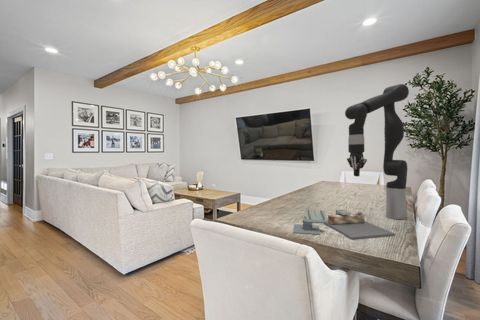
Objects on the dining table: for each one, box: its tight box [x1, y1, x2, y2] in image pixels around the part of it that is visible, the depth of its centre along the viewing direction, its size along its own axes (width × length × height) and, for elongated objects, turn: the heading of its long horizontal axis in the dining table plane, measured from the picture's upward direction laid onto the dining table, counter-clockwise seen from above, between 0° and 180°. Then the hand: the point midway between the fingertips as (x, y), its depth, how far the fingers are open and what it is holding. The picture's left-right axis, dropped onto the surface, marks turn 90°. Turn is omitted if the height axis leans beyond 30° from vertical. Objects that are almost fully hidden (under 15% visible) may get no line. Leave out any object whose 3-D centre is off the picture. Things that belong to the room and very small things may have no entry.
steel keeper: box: [335, 209, 352, 215], centre depth 121 cm, size 4×6×6 cm
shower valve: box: [293, 218, 325, 236], centre depth 113 cm, size 12×6×15 cm
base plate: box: [323, 211, 396, 241], centre depth 114 cm, size 22×24×6 cm
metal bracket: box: [304, 209, 328, 221], centre depth 130 cm, size 14×6×15 cm
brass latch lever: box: [327, 213, 365, 224], centre depth 120 cm, size 19×4×4 cm, turn 98°
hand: (356, 176), depth 121 cm, fingers closed
